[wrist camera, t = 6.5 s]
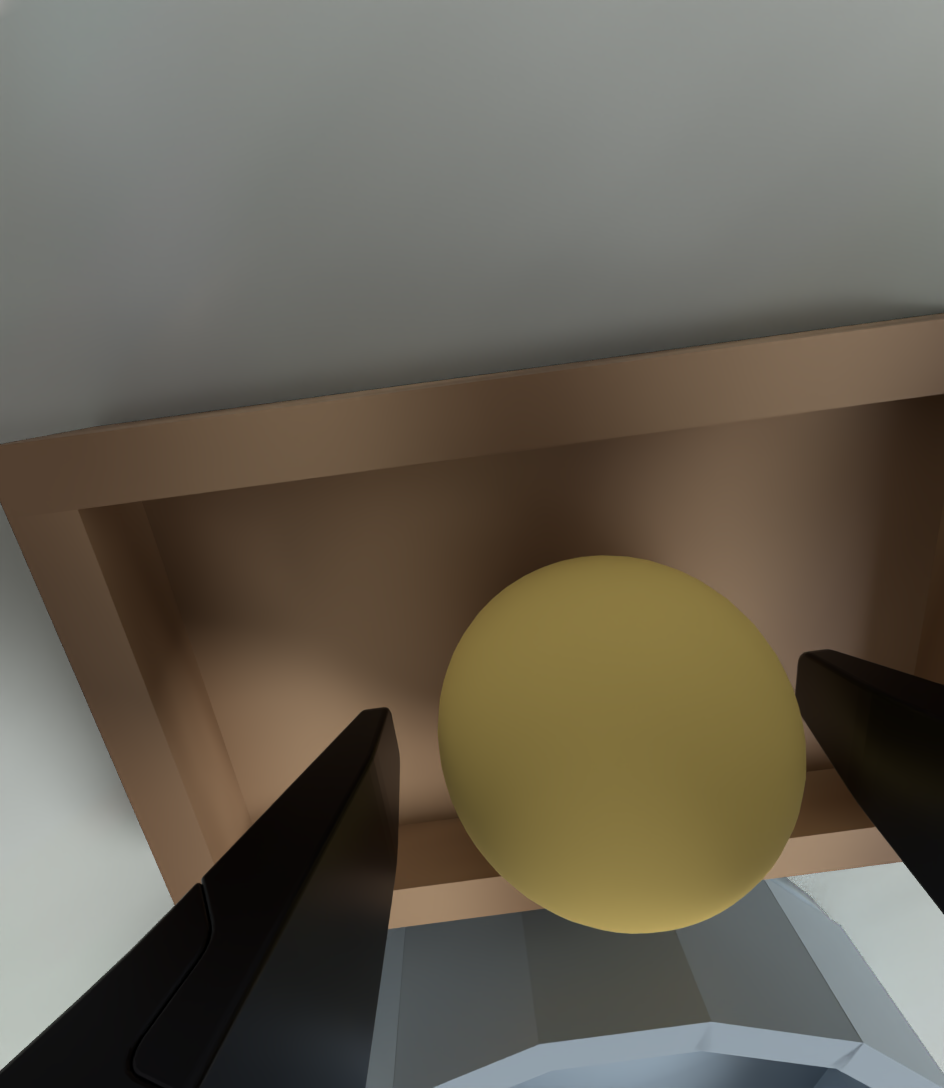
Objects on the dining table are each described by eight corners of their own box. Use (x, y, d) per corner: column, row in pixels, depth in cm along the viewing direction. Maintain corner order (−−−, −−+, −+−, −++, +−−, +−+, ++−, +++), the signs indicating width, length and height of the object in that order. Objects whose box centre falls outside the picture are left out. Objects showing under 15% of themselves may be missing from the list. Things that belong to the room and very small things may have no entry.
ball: (693, 496, 9) (956, 629, 5) (690, 728, 11) (885, 996, 6) (416, 537, 9) (403, 715, 5) (454, 765, 11) (474, 1068, 6)
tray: (979, 307, 10) (1155, 290, 7) (901, 758, 13) (1004, 848, 10) (94, 426, 10) (-22, 448, 7) (242, 845, 13) (196, 954, 10)
